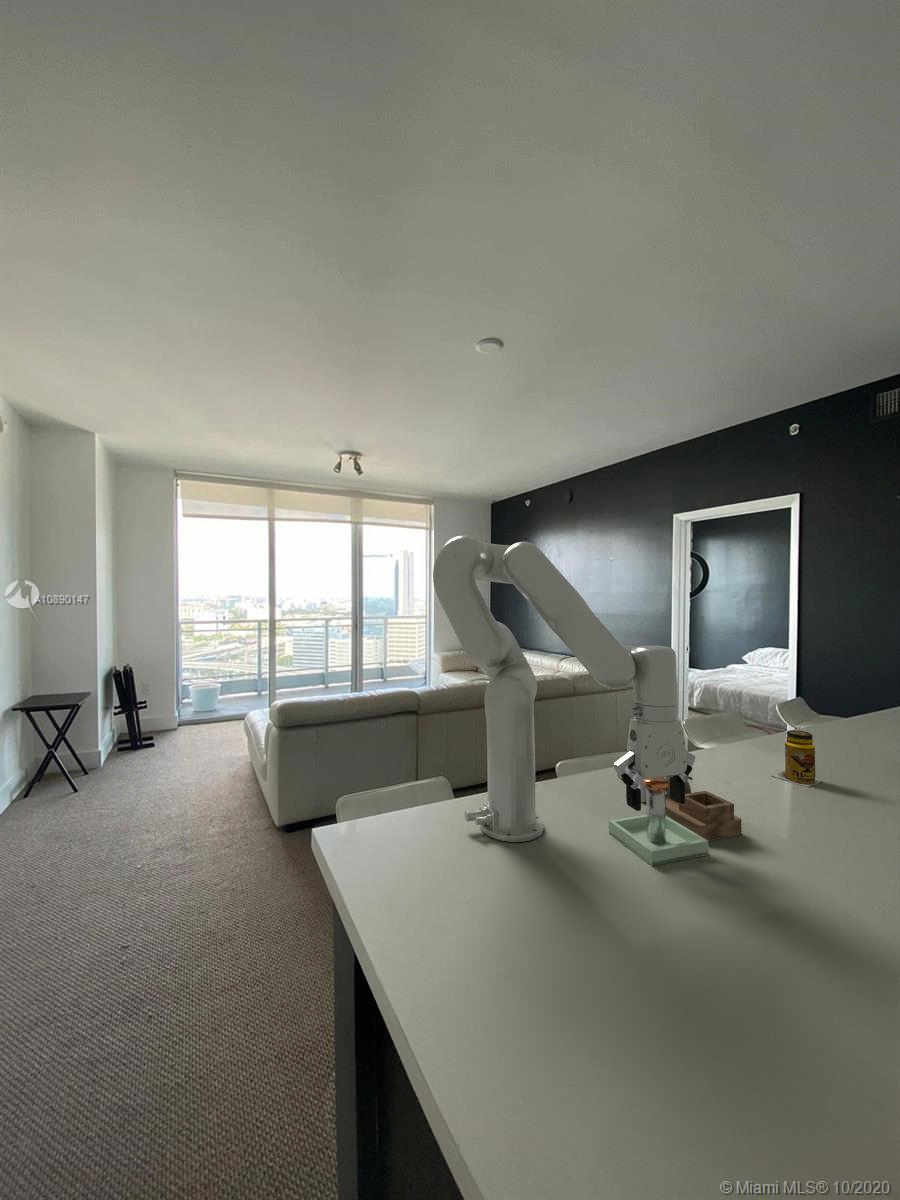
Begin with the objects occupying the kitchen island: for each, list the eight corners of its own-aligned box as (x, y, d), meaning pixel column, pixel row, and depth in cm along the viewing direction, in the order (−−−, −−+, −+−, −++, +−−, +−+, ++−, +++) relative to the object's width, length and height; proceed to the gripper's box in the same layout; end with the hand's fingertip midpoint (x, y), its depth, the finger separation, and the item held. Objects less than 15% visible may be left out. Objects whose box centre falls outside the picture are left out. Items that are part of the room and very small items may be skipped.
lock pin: (655, 848, 85) (654, 785, 85) (638, 836, 89) (637, 777, 89) (675, 844, 86) (674, 783, 86) (658, 833, 90) (657, 774, 90)
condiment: (808, 787, 113) (807, 737, 113) (770, 776, 121) (769, 729, 121) (823, 781, 117) (822, 733, 117) (786, 771, 124) (785, 725, 124)
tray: (651, 866, 80) (651, 851, 80) (609, 833, 92) (608, 820, 92) (708, 855, 83) (708, 840, 83) (660, 824, 95) (660, 812, 95)
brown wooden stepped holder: (699, 842, 88) (699, 797, 88) (648, 810, 101) (647, 772, 101) (741, 834, 91) (740, 791, 91) (686, 804, 104) (685, 767, 104)
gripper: (628, 720, 82) (629, 819, 81) (708, 713, 87) (709, 806, 86) (602, 711, 89) (603, 802, 89) (677, 705, 94) (678, 791, 94)
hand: (655, 804), depth 88 cm, fingers open, 9 cm apart
